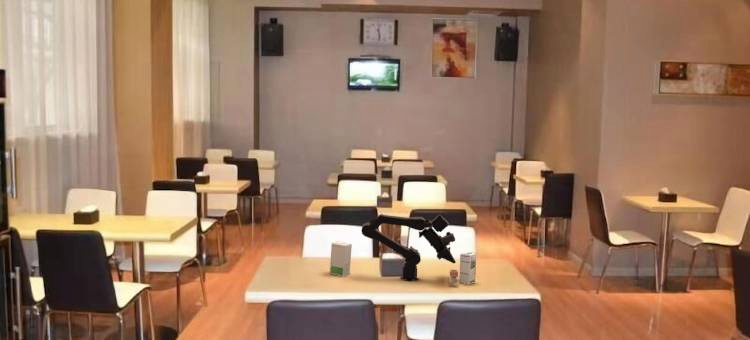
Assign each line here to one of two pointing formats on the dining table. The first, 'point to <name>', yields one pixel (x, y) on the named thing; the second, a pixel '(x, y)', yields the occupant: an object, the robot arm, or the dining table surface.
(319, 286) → the dining table surface
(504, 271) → the dining table surface
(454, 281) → the beech block
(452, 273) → the terracotta block
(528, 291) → the dining table surface
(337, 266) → the skincare box
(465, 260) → the syrup box
